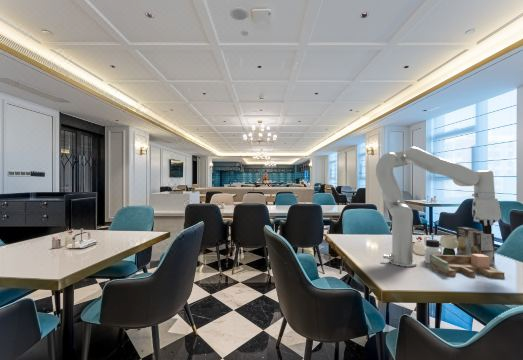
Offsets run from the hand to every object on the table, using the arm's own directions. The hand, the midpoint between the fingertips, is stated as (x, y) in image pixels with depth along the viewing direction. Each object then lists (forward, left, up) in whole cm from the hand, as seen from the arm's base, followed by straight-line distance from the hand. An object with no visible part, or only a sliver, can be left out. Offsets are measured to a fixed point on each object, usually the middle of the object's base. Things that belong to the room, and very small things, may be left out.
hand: (487, 233), depth 123 cm
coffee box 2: (+8, +16, -18) cm, 26 cm away
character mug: (-7, +19, -18) cm, 27 cm away
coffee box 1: (+9, +30, -18) cm, 37 cm away
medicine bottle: (-19, +12, -18) cm, 29 cm away
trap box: (-12, -2, -18) cm, 22 cm away
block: (-3, 0, -16) cm, 16 cm away
